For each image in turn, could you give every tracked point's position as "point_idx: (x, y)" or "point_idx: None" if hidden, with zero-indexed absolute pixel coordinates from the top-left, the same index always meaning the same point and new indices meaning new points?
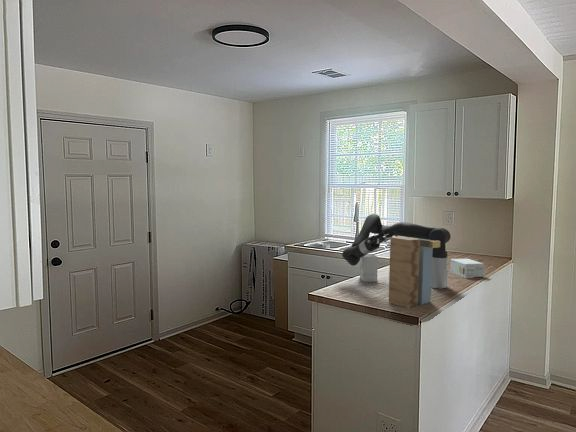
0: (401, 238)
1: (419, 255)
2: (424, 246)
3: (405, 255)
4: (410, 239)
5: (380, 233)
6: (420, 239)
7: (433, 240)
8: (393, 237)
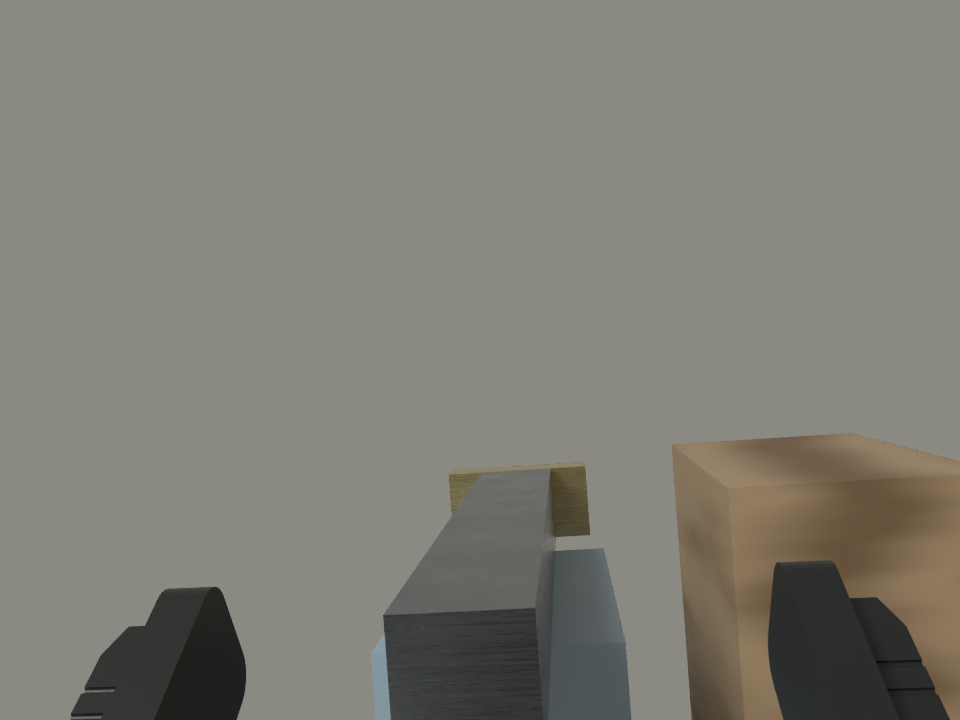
0: (875, 451)
1: (687, 639)
2: (559, 556)
3: None
4: (810, 440)
5: (902, 625)
6: (532, 492)
7: (481, 475)
8: (946, 469)
